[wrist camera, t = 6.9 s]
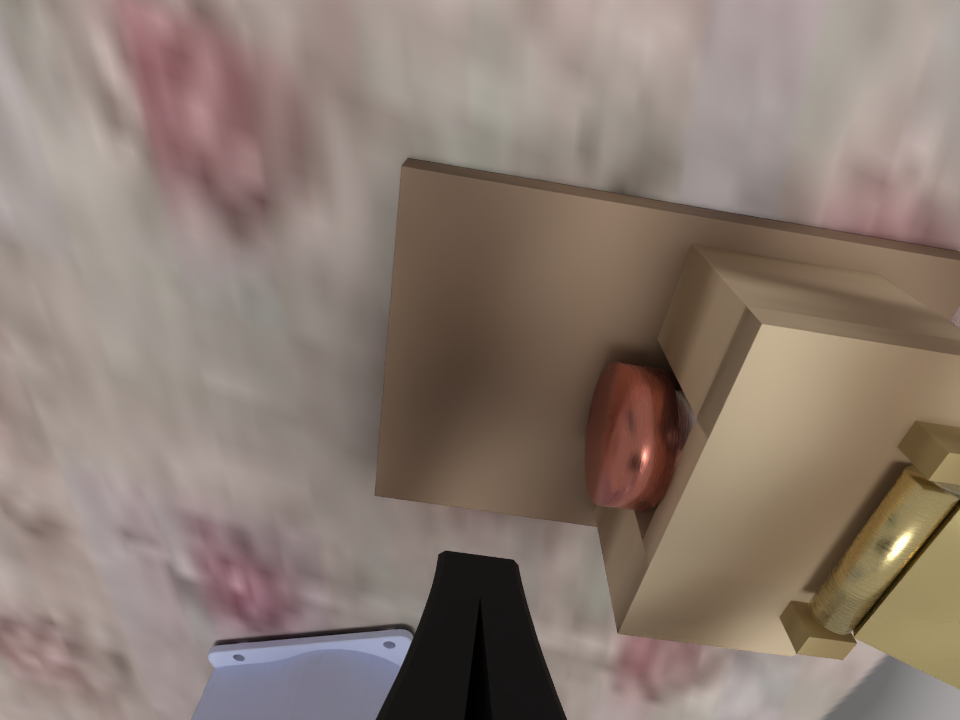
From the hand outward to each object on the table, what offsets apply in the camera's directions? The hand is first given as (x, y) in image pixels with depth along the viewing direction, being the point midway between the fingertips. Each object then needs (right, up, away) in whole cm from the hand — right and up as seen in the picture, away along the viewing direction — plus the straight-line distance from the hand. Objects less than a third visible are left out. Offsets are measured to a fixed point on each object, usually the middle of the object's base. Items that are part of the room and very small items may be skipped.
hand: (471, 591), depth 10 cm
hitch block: (+5, +4, +7) cm, 10 cm away
